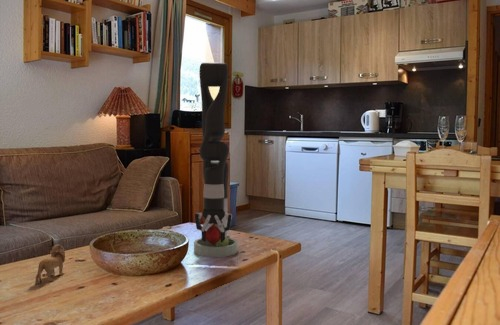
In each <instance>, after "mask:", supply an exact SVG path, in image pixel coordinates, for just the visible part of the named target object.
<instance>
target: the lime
mask: <svg viewBox="0 0 500 325" xmlns="http://www.w3.org/2000/svg"><path fill="white" fill-rule="evenodd" d="M228 238H229V237H225V240H224V241H223V242H221V239H220V240H219V241H218V242H217V243H216V246H217V247H221V246H228V245H229V240H228Z"/></svg>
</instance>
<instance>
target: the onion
mask: <svg viewBox="0 0 500 325" xmlns="http://www.w3.org/2000/svg"><path fill="white" fill-rule="evenodd" d="M206 239H207V241H208V242H209V243H211V244H212V245H215V244H216V243H217V242H218V241H219V240H220V239H221V231H220V229H219V228H218V227H216V224H212V226H211V227H209V228H208V229H207V231H206Z"/></svg>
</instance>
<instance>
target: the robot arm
mask: <svg viewBox="0 0 500 325" xmlns="http://www.w3.org/2000/svg"><path fill="white" fill-rule="evenodd" d="M228 67H229V66H228V64H227V63H226V62H217V61H216V62H215V61H214V62H212V61H210V62H206V61H204V62H202V63H200V65H199V74H198V75H199V83H200V84H199V85H200V97H201V129H202V131H201V132H202V133H201V134H202V142H201V144H200V146H199V156H200V158H201V160H202V177H203V181H204V186H203V193H202V195H203V196H202V197H203V207H202V208H203V209H202V210H203V211H202V212H195V213H194V219H195V225H196V226H195V227H196V230H197V231H201V238H202V240H203V241H204V242H205V241H206V231H207V229H208V228H209V227H211V226H212V224H216V227H218V228H219V229H220V231H221V242H223V241H224V240H225V237H226V238H228V231H230V229H231V226H232V219H233V213H228V209H229V208H228V205H229V204H228V198H229V196H228V194H229V192H228V191H229V190H228V187H229V184H228V183H229V170H230V169H229V163H228V161H227V160H228V156H229V153H230V147H229V145H228V143H227V142H225V141H222V139H223V138H224V136H225V132H226V131H225V130H226V126H225V124H226V122H225V119H226V118H225V111H226V110H225V109H226V102H227V96H228V87H229V86H228V85H229V68H228ZM210 87H211V88H212V87H216V88H217V87H218V88H219V90H218V92H217V95H216V96H215V98H214V99H213V96H212V94H211V92H210ZM202 217H203V218H204V220H205V221H204V223H203V225H202V224H201V218H202Z"/></svg>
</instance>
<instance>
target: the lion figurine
mask: <svg viewBox="0 0 500 325" xmlns="http://www.w3.org/2000/svg"><path fill="white" fill-rule="evenodd" d="M49 254H50V255H51V257H49V258H43V259H42V260H41V261H39V263H38V268H37V274H36V276H35V284H37V285H38V284H39V285H40V286H41V285H42V283H43V281H42V273H43V271H45V273H46V276H47V277H46V278H47V279H48V281H49V282H54V281H55V279H54V278H52V277H51V276H55V274H56V272H55V269H56V268H57V267H58V274H59V276H62V275H64V274H65V273H64V272H63V268H64V262H65V261H66V253H65V248H64V246H62V245H61V244H55V245H53V246H52V248H51V250H50V251H49Z"/></svg>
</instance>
